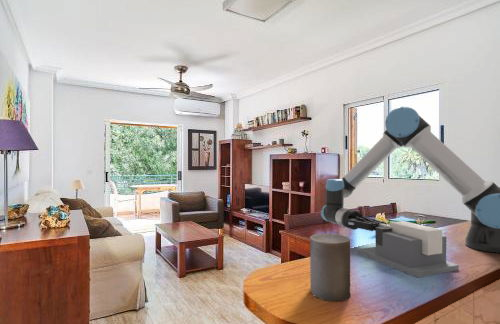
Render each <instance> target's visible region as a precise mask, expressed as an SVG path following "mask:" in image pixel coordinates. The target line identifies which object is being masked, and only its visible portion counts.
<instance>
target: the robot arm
mask: <svg viewBox="0 0 500 324" xmlns="http://www.w3.org/2000/svg"><path fill="white" fill-rule="evenodd" d="M384 123H385V128H386V129H385V131H383V133H382V137H381V138H380V139H379V140H378V141H377V142H376V144H374V145H373V146H372V147H371V148H370V149H369V151H367V152H366V154H365V155H364V156H363V157H361V159H360V160H359V161H357V163H355V165H354V166H353V167H352V168H351V169H349V171H348V172H347V173H346V174H345V175H344V176H343V177H342V178H328V179H326V181H325V182H326V183H325V205H324V206H322V209H321V210H320V215H321V218H322V219H323V220H324V221H326V222H329V223H330V224H334V225H337V226H338V225H339V226H341V227H343V229H346V228H347V229H350V230H355V231H356V230H358V229H360V230H366V231H369V232H370V231H371V232H375V234H376V227H388V228H390V224H387V222H385V221H382V220H379V219H377V218H376V217H372V218H369V217H366V216H364V215H362V214H361V212H359V211H357V210H354V209H350V208H345V207H344V198H345V199H346V198H349V197H350V196H351V195H352V194H353V193H354V191H355V190H356V189H357V188H358V187H359V186H360V185H361V184H362V183H363V182H364V181H365V180H366V179H367V178H368V177H369V176H370V175H371V174H372V173H373V172H374V171H375V170H376V169H377V168H378V167H379V166H380V165H381V164H382V163H383V162H385V160H386V159H387V158H389V156H390V155H391V154H392V153H394V152H395V150H396V149H398V148H402V147H405V148H411V149H412V150H413V151H414V152H415V153H417V155H418V156H420V157H421V158H422V159H423V160H424V162H426V163H427V164H428V165H429V166H430V167H431V168H432V169H433V170H435V172H436V173H437V174H438V175H440V177H442V179H443V180H445V181H446V182H447V183H448V184H449V185H450V186H451V187H452V188H453V189H454V190H455V191H456V192H457V193H458V194H459V195H461V198H462V199H461V203H462V204H463V205H464V206H465V207H466V208H467V209H468V210H469V211H470V227H469V229H468V232H467V234H466V236H465V241H464V242H465V243H464V245H465V246H467V247H468V248H471V249H474V250H479V251H484V252H488V253H495V252H496V253H498V254H500V186H498V185H497V184H496V183H495V182H493V180H492V181H491V180H484V179H483V178H482V177H481V176H480V175H479V174H478V173H477V172H476V171H474V170H473V169H472V168H471V167H470V166H469V165H468V164H467V163H466V162H465V161H463V160H462V159H461V158H460V157H459V156H458V155H457V154H456V153H455V152H453V151H452V149H450V148H449V147H448V146H447V145H446V144H445V143H443V141H441V139H439V138H438V137H437V136H436V135H435V134H434V133H433V132H432V127H431V125H430V124H429V123H428V122H427V121H426V120H425V119H424V118H423V117H421V116H420V114H419V113H418V112H417V111H416V110H415V109H413V108H412V107H410V106H399V107H396V108H393V109H392V110H391V111H390V112H388V114H387V116H386V118H385V122H384Z"/></svg>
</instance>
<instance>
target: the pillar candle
mask: <svg viewBox="0 0 500 324" xmlns="http://www.w3.org/2000/svg"><path fill="white" fill-rule="evenodd" d="M309 239H310V240H309V243H310V245H309V246H310V252H309V253H310V257H309V259H310V260H309V263H310V275H309V276H310V282H309V283H310V293H311V292H312V293H311V294H312V295H313V296H314V295H315V296H316V297H315V296H314V297H315V298H317V297H318V298H317V299H319V298H320V299H319V300H322V299H323V301H327V302H340V301H346V300H348V299H350V297H351V239H350V238H349V237H348V236H345V235H342V234H338V233H332V232H330V233H317V234H313V235H311V236H310V237H309Z"/></svg>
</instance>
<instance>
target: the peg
mask: <svg viewBox="0 0 500 324" xmlns="http://www.w3.org/2000/svg"><path fill="white" fill-rule="evenodd" d="M414 223H415V222H409V221H405V220H401V221H400V220H399V221H390V222H389V225H390V228H392V232H396V233H399V234H403V235H407V236H410V237H414V238H418V239H421V240H422V254H425V255H434V254H440V253H442V236H443V229H441V228H436V227H433V226H432V227H431V226H428V225H427V226H425V225H424V226H423V224H421V225H419V224H420V223H418V224H417V223H415V224H414Z"/></svg>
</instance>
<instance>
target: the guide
mask: <svg viewBox="0 0 500 324" xmlns="http://www.w3.org/2000/svg"><path fill="white" fill-rule="evenodd" d="M357 254H358V255H361V256H364V257H367V258H369V259H371V260H373V261H377V262H378V263H381V264H384V265H386V266H388V267H391V268H394V269H395V270H398V271H401V272H403V273H405V274H408V275H411V276H413V277H414V278H422V277H423V278H424V277H427V276H432V275H438V274H443V273H450V272H453V271H454V272H455V271H459V267H460V266H459V264H457V263H453V262H451V261H448V260H447V236H445V235H442V253H440V254H434V255H425V254H422V240H421V239H418V238H414V237H410V236H407V235H403V234H399V233H396V232H392V228H388V227H376V233H375V246H371V247H364V248H363V247H362V248H358V249H357Z"/></svg>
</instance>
